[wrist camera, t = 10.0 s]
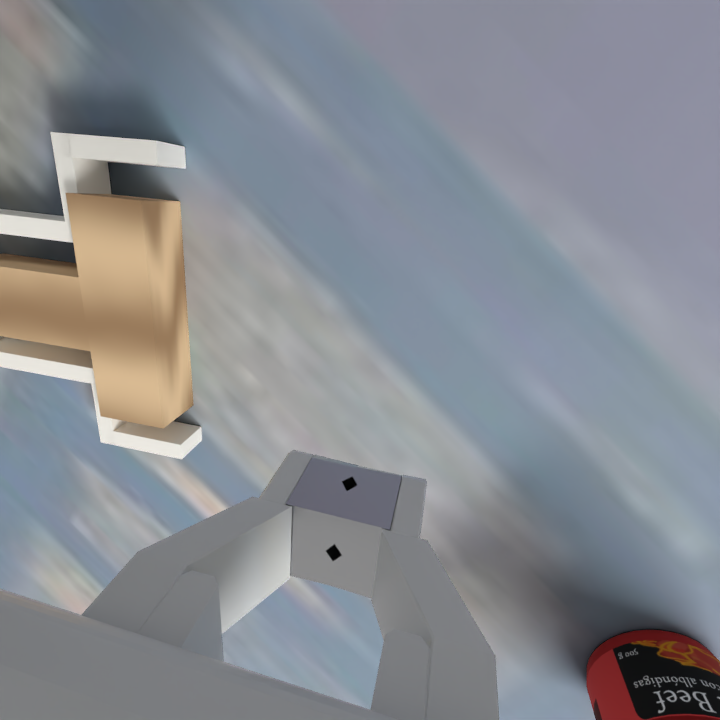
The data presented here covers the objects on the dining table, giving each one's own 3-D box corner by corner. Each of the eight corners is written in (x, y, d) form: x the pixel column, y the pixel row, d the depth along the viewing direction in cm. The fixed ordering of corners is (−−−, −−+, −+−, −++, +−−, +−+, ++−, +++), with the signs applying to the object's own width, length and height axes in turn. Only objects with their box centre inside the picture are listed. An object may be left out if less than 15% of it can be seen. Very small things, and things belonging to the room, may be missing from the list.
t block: (-12, 181, 24) (-74, 178, 21) (180, 201, 22) (141, 200, 19) (30, 374, 28) (-16, 393, 25) (193, 405, 26) (163, 428, 23)
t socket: (-56, 127, 23) (-104, 119, 21) (184, 146, 21) (156, 140, 19) (12, 402, 29) (-21, 416, 27) (202, 440, 27) (181, 459, 25)
